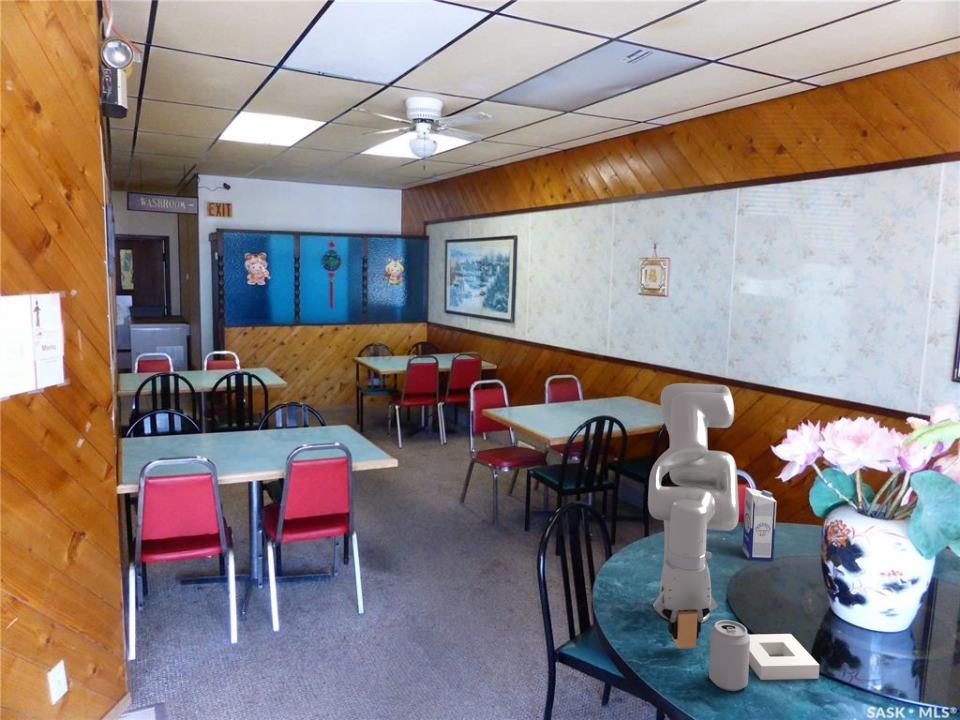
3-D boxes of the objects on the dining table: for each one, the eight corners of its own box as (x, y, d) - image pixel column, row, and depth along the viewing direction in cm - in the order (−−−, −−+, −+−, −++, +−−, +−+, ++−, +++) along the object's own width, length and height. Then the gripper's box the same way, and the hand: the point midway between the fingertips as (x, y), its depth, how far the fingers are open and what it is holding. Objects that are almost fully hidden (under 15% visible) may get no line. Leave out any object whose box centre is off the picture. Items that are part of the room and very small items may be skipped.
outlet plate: (736, 647, 149) (737, 634, 148) (790, 646, 149) (790, 633, 149) (760, 679, 137) (761, 666, 136) (818, 678, 137) (819, 665, 137)
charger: (671, 637, 149) (673, 604, 147) (689, 636, 149) (691, 603, 147) (677, 648, 145) (679, 614, 143) (696, 647, 145) (697, 613, 143)
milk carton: (742, 550, 201) (745, 486, 198) (765, 551, 200) (768, 487, 198) (749, 560, 194) (752, 494, 191) (773, 561, 193) (777, 494, 191)
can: (738, 671, 140) (741, 617, 138) (754, 693, 132) (757, 636, 131) (703, 671, 140) (705, 617, 138) (717, 694, 132) (719, 637, 131)
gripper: (719, 548, 147) (715, 624, 150) (643, 551, 146) (641, 626, 150) (732, 565, 139) (728, 644, 143) (653, 567, 139) (650, 647, 142)
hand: (684, 634), depth 146 cm, fingers closed on charger, 4 cm apart
